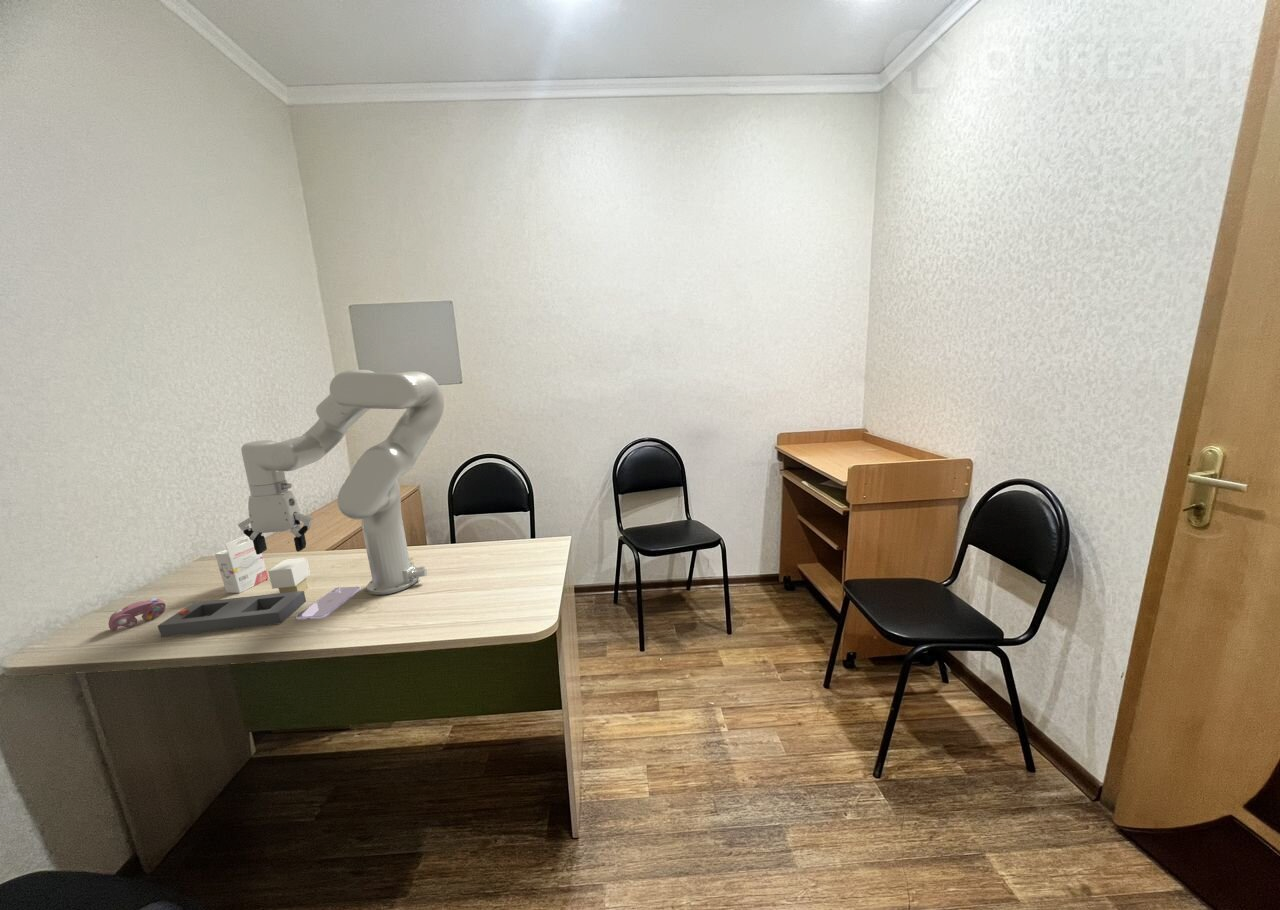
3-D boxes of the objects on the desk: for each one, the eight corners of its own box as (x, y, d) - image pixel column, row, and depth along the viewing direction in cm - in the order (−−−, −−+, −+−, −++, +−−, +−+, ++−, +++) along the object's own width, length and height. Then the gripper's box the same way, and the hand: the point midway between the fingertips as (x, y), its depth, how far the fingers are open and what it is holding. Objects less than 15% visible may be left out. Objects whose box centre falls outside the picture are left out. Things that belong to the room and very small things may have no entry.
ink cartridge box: (255, 578, 137) (243, 531, 134) (269, 578, 136) (257, 531, 133) (224, 593, 129) (210, 543, 126) (239, 593, 128) (225, 543, 125)
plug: (313, 585, 130) (306, 557, 128) (298, 598, 123) (291, 568, 121) (291, 587, 129) (284, 559, 128) (275, 600, 123) (268, 570, 121)
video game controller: (114, 640, 111) (109, 620, 108) (107, 627, 113) (102, 607, 110) (170, 619, 120) (167, 600, 117) (163, 608, 121) (160, 588, 118)
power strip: (306, 601, 121) (303, 588, 121) (281, 623, 111) (277, 610, 111) (197, 613, 119) (193, 600, 118) (161, 637, 109) (156, 623, 108)
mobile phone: (293, 617, 113) (335, 586, 127) (293, 620, 113) (336, 589, 128) (323, 616, 112) (362, 585, 127) (323, 620, 113) (363, 588, 127)
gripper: (313, 482, 125) (324, 542, 128) (242, 486, 123) (255, 547, 126) (296, 491, 117) (308, 554, 121) (221, 495, 115) (235, 559, 119)
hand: (281, 550), depth 124 cm, fingers open, 9 cm apart
